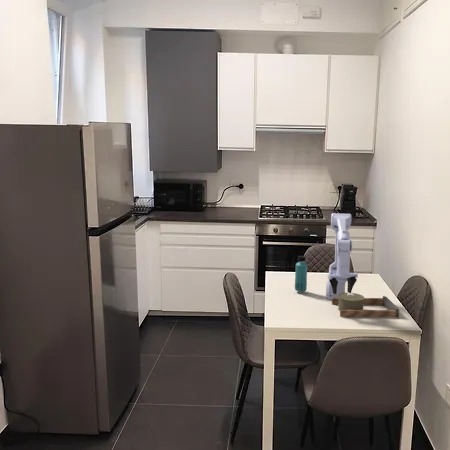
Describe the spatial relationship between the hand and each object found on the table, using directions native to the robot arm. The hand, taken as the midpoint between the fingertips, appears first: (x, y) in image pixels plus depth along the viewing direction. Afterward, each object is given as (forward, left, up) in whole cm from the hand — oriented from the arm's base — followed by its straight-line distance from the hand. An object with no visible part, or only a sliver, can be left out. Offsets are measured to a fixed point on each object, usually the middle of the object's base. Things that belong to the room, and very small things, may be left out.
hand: (341, 293), depth 214 cm
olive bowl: (+6, +3, -10) cm, 12 cm away
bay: (+12, +3, -10) cm, 16 cm away
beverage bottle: (-15, +29, -10) cm, 34 cm away
